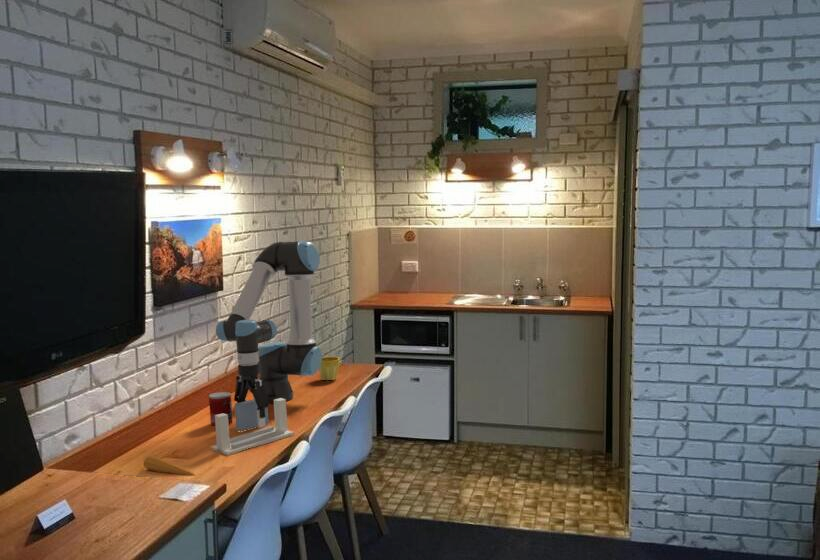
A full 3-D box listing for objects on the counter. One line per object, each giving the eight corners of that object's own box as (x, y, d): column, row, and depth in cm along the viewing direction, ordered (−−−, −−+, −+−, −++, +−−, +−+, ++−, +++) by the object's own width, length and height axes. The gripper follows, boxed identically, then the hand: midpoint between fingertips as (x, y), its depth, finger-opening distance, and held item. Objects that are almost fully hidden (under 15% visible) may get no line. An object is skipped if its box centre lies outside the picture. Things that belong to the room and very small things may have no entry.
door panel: (264, 423, 264) (262, 396, 263) (268, 424, 263) (266, 397, 262) (236, 431, 256) (234, 403, 255) (240, 432, 254) (238, 405, 253)
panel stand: (276, 429, 256) (274, 396, 255) (293, 434, 249) (291, 400, 248) (211, 449, 237) (209, 413, 236) (228, 455, 230) (225, 418, 229)
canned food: (227, 427, 261) (225, 397, 260) (206, 426, 263) (204, 397, 262) (236, 420, 269) (234, 391, 268) (216, 420, 271) (214, 391, 269)
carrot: (142, 471, 220) (139, 460, 218) (152, 462, 224) (149, 450, 222) (196, 487, 213) (193, 475, 211) (205, 477, 216) (202, 465, 214)
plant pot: (341, 376, 334) (340, 355, 333) (340, 381, 324) (339, 360, 323) (318, 377, 333) (317, 356, 332) (317, 383, 323) (315, 361, 322)
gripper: (221, 361, 262) (225, 420, 264) (258, 369, 246) (262, 432, 248) (239, 357, 268) (243, 415, 270) (276, 365, 251) (280, 427, 254)
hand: (252, 423), depth 259 cm, fingers open, 11 cm apart
